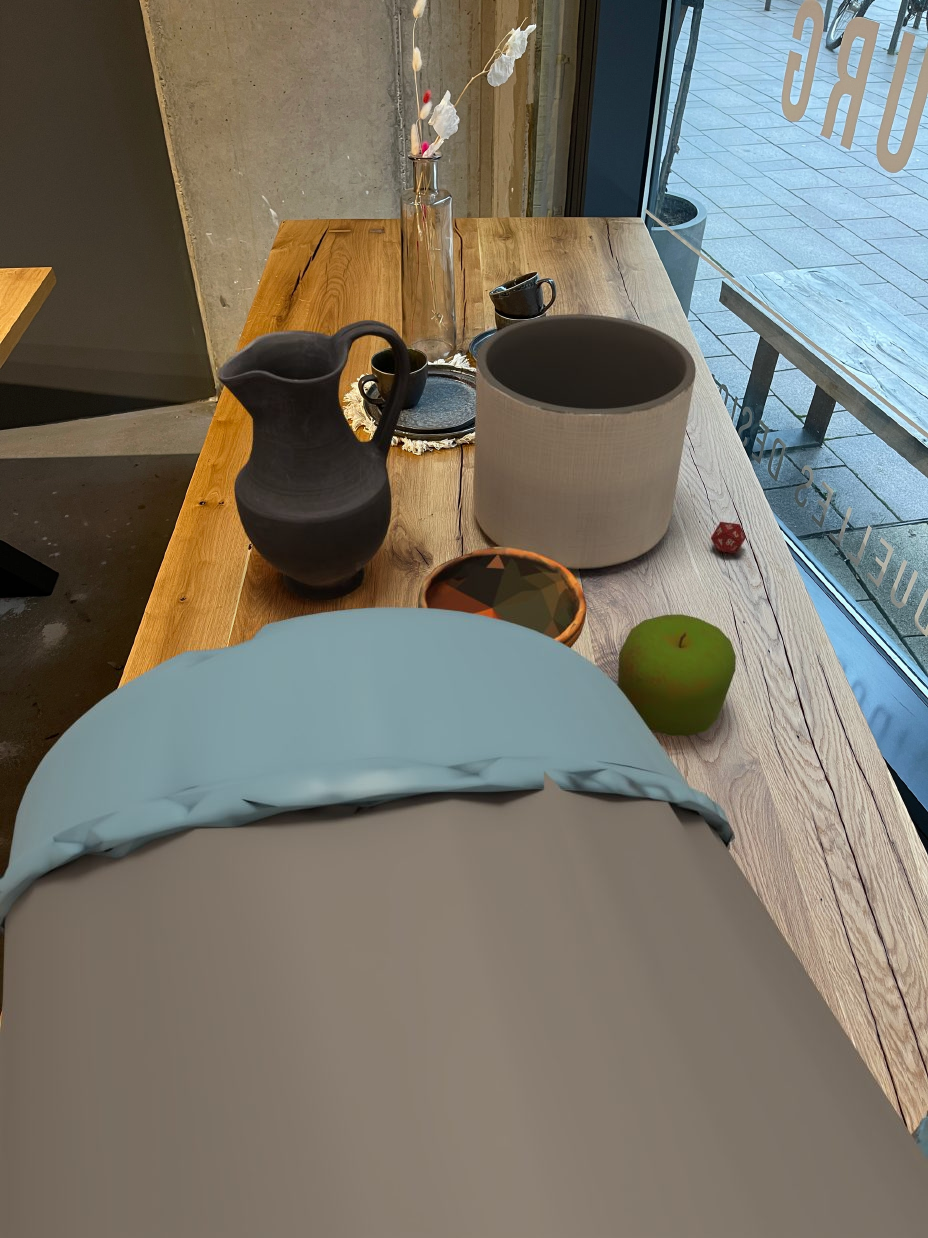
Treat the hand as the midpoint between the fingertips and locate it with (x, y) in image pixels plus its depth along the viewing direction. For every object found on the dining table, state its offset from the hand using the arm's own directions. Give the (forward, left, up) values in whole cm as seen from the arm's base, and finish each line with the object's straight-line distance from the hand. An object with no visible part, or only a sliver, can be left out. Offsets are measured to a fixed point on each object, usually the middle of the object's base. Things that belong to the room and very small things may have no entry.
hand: (452, 862), depth 63 cm
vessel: (+22, +5, -15) cm, 28 cm away
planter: (+62, +11, -15) cm, 65 cm away
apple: (+34, -9, -15) cm, 39 cm away
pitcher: (+40, +33, -15) cm, 55 cm away
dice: (+63, -9, -15) cm, 66 cm away
